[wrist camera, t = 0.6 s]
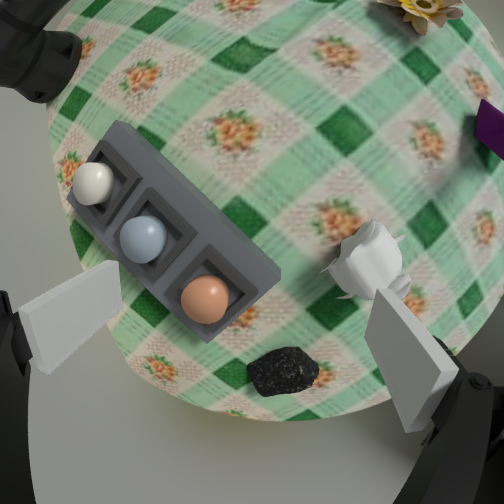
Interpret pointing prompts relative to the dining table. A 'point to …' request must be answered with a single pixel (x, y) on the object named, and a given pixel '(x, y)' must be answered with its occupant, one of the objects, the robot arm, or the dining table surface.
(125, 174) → the console
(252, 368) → the rock
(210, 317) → the terracotta button
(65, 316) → the robot arm
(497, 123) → the perfume bottle
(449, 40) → the dining table surface
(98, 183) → the ivory button
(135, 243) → the slate button
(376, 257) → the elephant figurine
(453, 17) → the decorative flower
